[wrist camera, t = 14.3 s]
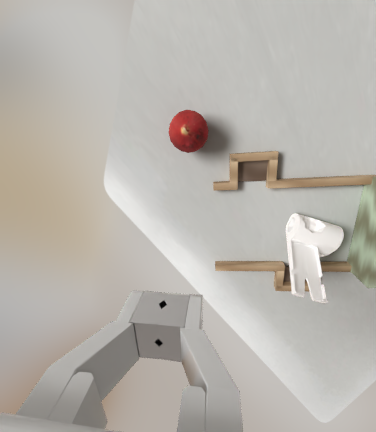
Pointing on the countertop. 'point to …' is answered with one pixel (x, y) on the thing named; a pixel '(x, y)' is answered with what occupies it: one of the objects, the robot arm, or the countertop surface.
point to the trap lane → (267, 170)
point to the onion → (188, 131)
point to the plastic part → (310, 253)
